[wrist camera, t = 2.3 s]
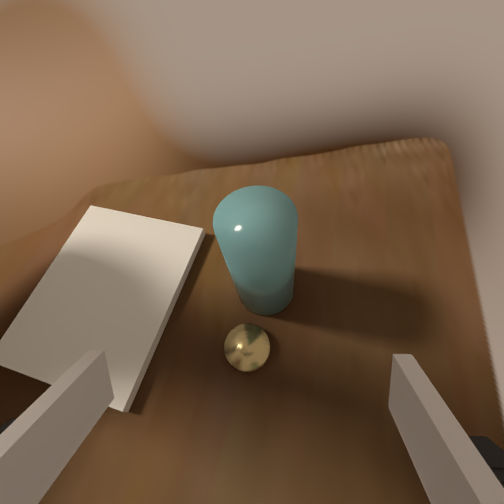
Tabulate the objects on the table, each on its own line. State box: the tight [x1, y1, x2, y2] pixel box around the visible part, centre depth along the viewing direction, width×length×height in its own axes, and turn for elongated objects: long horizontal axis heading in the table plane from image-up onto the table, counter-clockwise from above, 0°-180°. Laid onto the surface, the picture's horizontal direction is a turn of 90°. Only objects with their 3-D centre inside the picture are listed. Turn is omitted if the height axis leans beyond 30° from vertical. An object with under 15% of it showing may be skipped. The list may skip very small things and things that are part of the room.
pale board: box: [0, 206, 205, 412], centre depth 34 cm, size 16×20×1 cm
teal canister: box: [213, 186, 298, 316], centre depth 27 cm, size 6×6×13 cm
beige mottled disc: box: [224, 324, 270, 372], centre depth 29 cm, size 4×4×1 cm
